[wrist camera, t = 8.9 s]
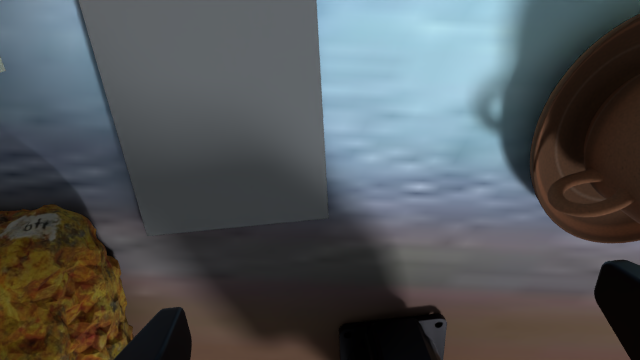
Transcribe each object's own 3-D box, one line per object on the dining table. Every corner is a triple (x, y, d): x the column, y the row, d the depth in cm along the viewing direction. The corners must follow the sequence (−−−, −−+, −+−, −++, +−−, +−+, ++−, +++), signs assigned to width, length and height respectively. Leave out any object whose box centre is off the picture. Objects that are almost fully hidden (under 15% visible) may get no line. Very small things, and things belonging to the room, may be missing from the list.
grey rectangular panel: (327, 212, 22) (328, 218, 21) (150, 229, 21) (147, 236, 21) (312, -52, 17) (313, -53, 16) (74, -37, 16) (67, -37, 15)
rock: (7, 262, 27) (-191, 231, 16) (145, 211, 28) (39, 152, 17) (40, 468, 23) (-182, 590, 13) (196, 403, 24) (103, 469, 14)
